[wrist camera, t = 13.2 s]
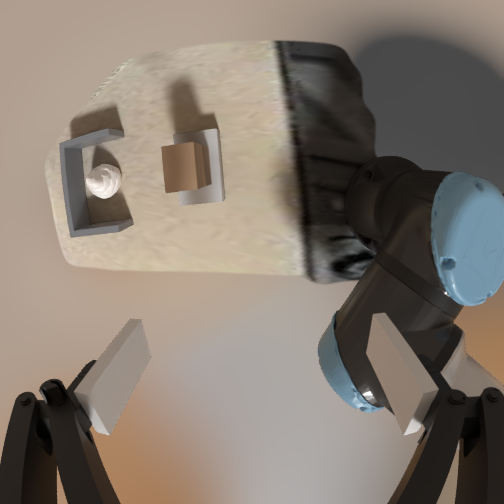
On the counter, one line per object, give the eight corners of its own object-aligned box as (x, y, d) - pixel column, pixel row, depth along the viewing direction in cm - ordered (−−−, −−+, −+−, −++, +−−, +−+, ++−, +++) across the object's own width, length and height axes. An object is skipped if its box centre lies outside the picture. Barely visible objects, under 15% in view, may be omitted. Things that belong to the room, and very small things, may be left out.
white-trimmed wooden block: (219, 131, 38) (203, 117, 26) (225, 199, 40) (211, 212, 29) (179, 136, 38) (149, 126, 26) (185, 202, 41) (157, 217, 29)
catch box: (123, 131, 37) (108, 127, 33) (133, 224, 42) (119, 231, 37) (76, 144, 38) (59, 143, 33) (86, 230, 42) (70, 237, 37)
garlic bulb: (109, 171, 34) (98, 208, 35) (127, 169, 39) (117, 202, 41) (80, 160, 33) (71, 195, 35) (100, 159, 39) (91, 190, 40)
